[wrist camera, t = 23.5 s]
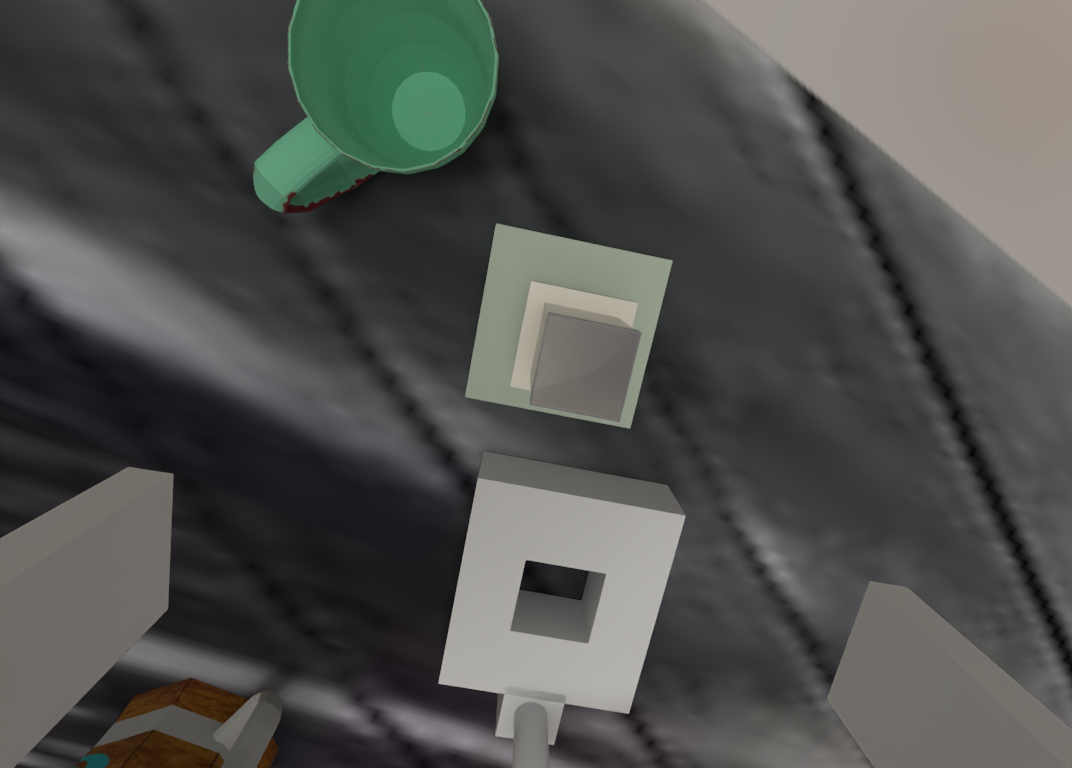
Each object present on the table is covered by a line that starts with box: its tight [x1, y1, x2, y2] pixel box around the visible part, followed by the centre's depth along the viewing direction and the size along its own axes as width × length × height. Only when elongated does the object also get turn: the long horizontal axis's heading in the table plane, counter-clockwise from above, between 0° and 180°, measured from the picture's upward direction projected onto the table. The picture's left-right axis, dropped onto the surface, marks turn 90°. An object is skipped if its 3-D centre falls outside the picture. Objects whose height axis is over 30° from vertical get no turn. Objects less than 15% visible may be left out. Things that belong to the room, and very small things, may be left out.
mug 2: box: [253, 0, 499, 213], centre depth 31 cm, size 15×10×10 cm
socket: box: [438, 451, 686, 768], centre depth 36 cm, size 14×20×14 cm
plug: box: [510, 280, 642, 422], centre depth 32 cm, size 6×6×13 cm
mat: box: [465, 223, 672, 429], centre depth 38 cm, size 12×12×1 cm
